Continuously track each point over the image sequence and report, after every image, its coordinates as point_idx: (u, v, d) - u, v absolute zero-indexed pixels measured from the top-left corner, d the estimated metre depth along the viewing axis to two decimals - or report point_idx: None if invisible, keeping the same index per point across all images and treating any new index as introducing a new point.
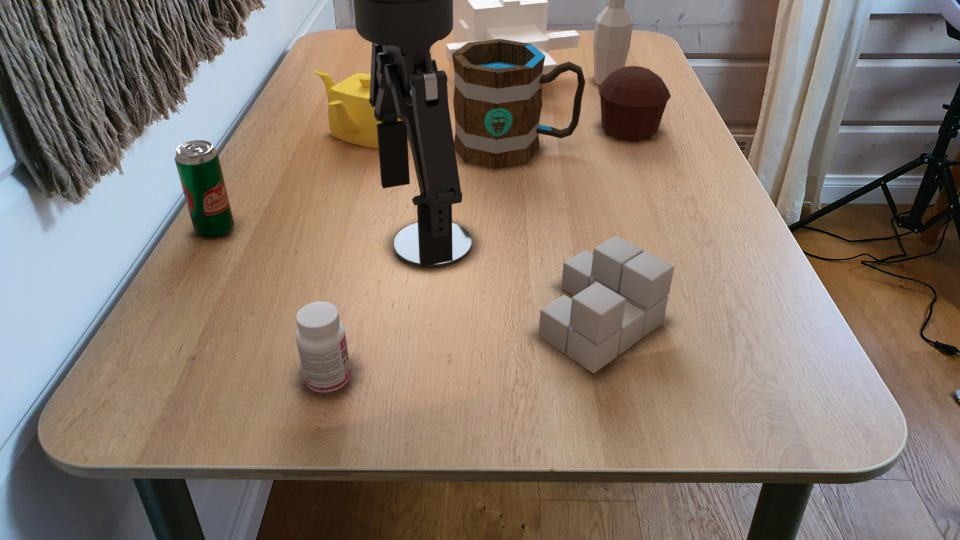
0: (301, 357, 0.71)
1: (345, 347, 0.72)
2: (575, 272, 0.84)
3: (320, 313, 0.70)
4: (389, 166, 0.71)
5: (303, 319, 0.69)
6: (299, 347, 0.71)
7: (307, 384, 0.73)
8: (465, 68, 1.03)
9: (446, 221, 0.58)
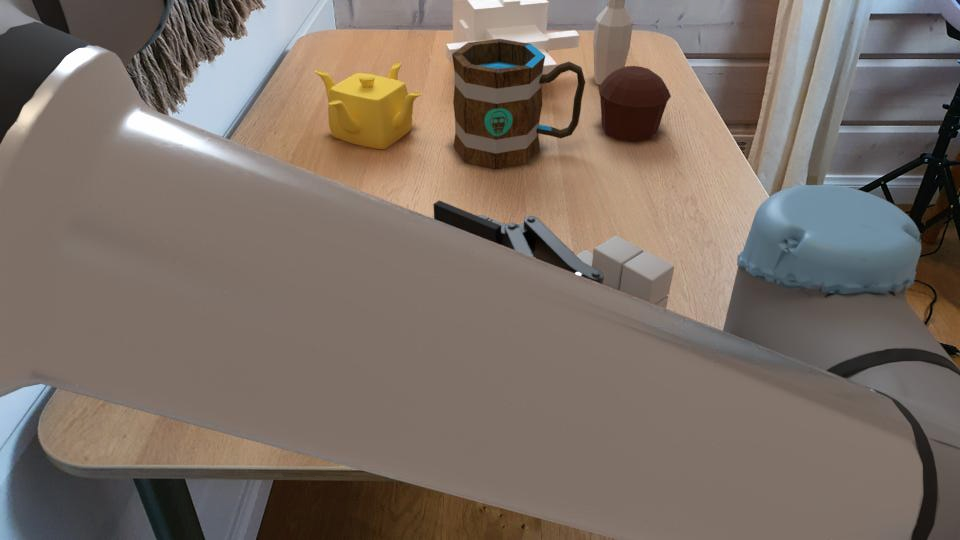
0: None
1: None
2: None
3: None
4: (455, 220, 0.61)
5: None
6: None
7: None
8: (465, 68, 1.03)
9: None
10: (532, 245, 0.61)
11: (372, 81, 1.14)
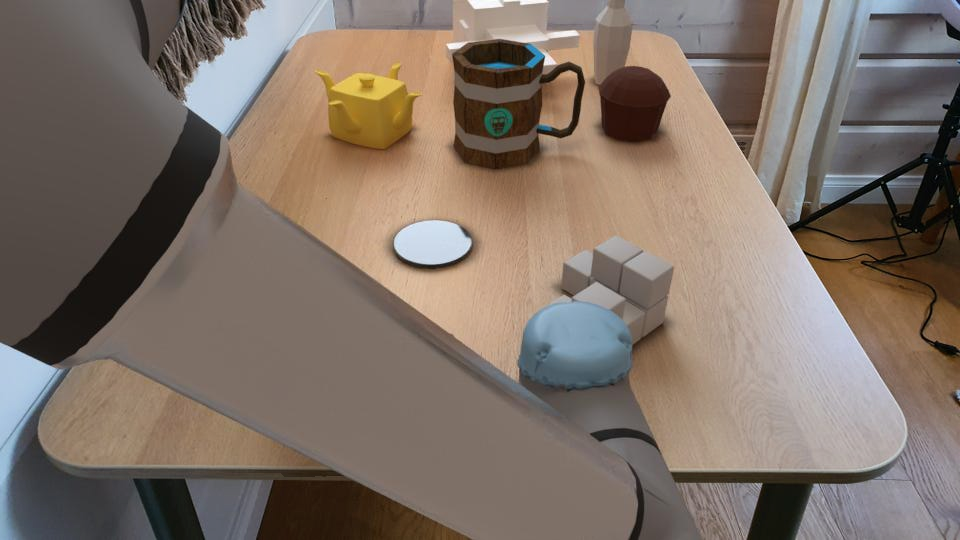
0: None
1: None
2: (574, 272, 0.84)
3: None
4: None
5: None
6: None
7: None
8: (465, 68, 1.03)
9: None
10: None
11: (372, 81, 1.14)
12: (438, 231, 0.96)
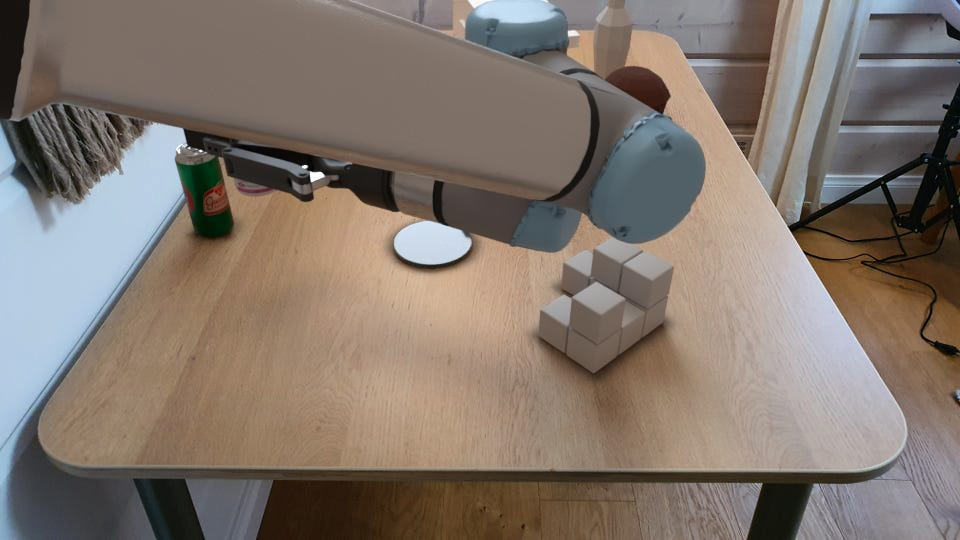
0: None
1: None
2: (574, 272, 0.84)
3: None
4: None
5: None
6: None
7: (241, 190, 0.73)
8: None
9: (216, 154, 0.69)
10: None
11: None
12: (438, 231, 0.96)
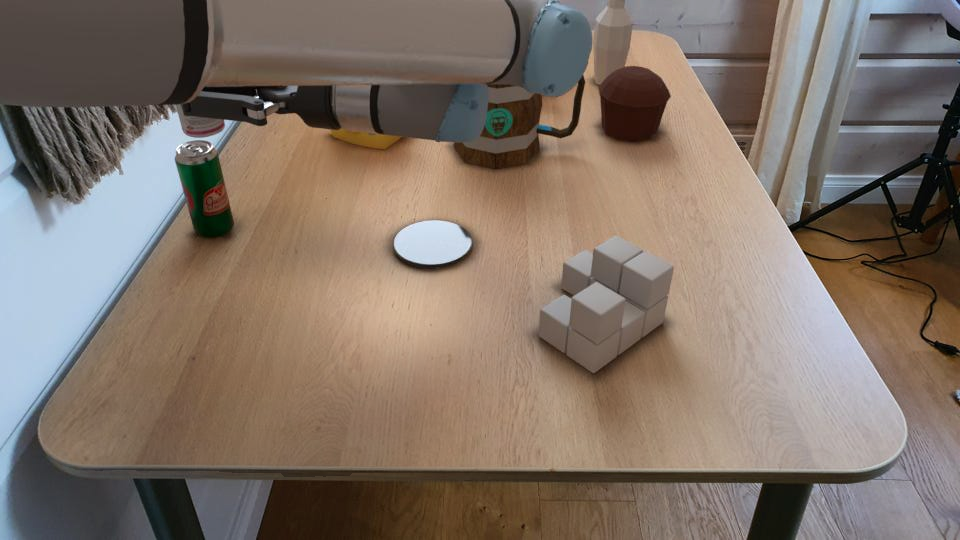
0: None
1: None
2: (574, 272, 0.84)
3: None
4: None
5: None
6: None
7: (190, 132, 0.84)
8: None
9: None
10: None
11: None
12: (438, 231, 0.96)
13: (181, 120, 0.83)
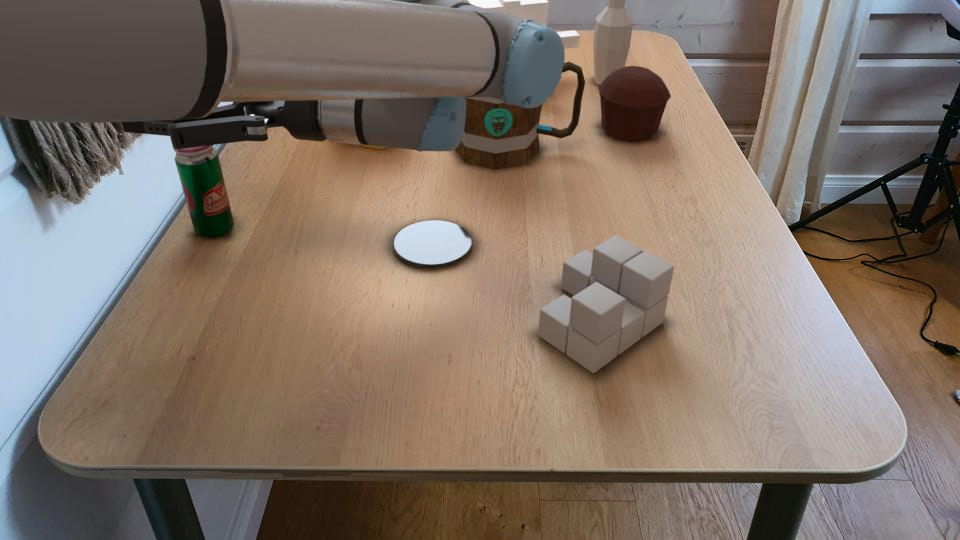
0: None
1: None
2: (574, 272, 0.84)
3: None
4: None
5: None
6: None
7: (181, 151, 0.87)
8: None
9: (157, 133, 0.79)
10: None
11: None
12: (438, 231, 0.96)
13: None
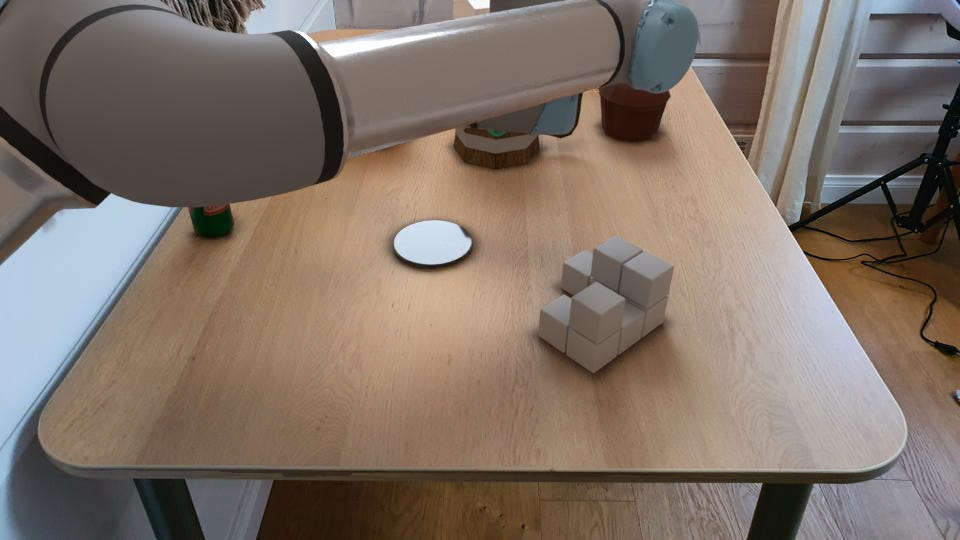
0: None
1: None
2: (574, 272, 0.84)
3: None
4: None
5: None
6: None
7: None
8: None
9: None
10: None
11: None
12: (438, 231, 0.96)
13: None
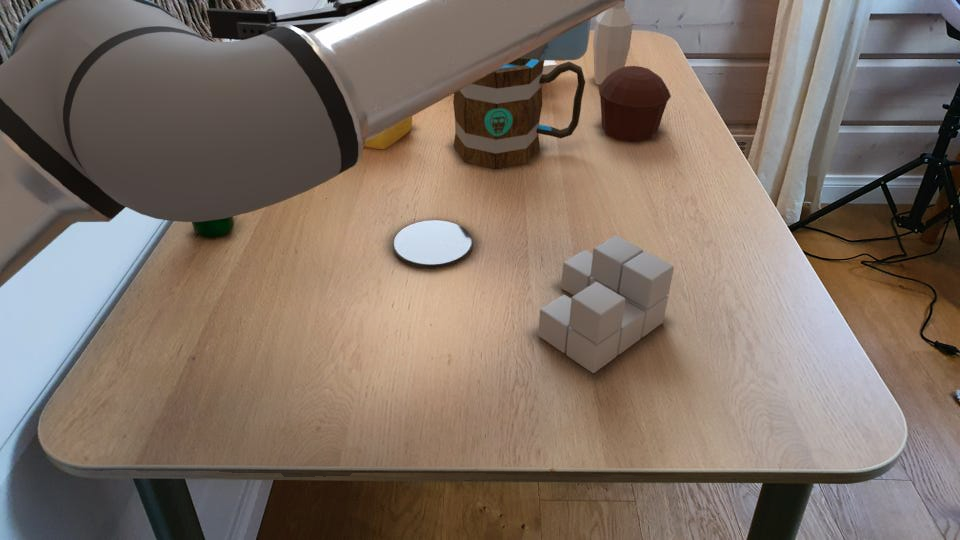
0: None
1: None
2: (574, 272, 0.84)
3: None
4: None
5: None
6: None
7: None
8: None
9: (251, 36, 0.71)
10: None
11: None
12: (438, 231, 0.96)
13: None
